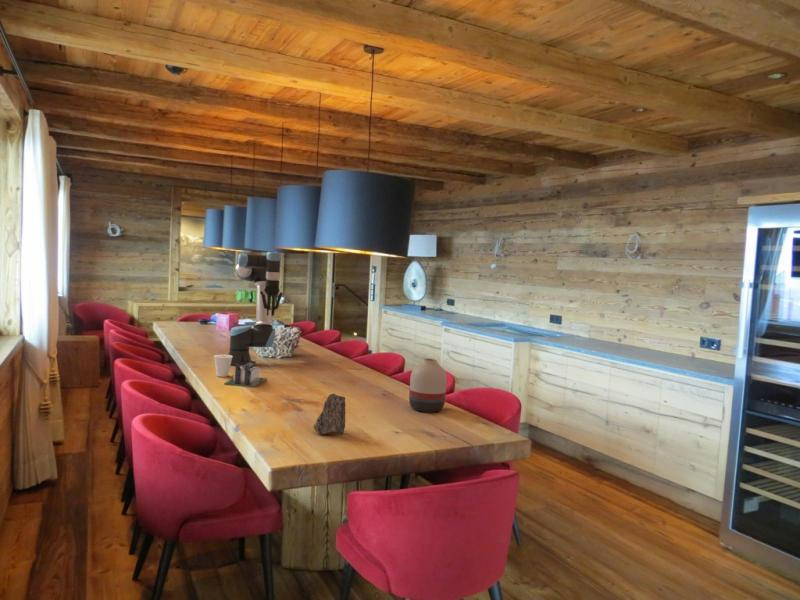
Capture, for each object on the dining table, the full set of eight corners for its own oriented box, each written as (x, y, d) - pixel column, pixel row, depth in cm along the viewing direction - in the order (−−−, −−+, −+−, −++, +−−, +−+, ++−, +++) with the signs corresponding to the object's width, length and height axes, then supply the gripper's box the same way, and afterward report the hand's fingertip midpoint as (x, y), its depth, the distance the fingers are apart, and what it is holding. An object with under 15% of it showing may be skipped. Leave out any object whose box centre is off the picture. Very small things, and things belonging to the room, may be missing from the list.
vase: (450, 409, 272) (453, 360, 270) (434, 416, 257) (437, 364, 256) (419, 403, 280) (422, 355, 279) (401, 409, 266) (405, 359, 264)
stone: (350, 436, 219) (353, 398, 218) (317, 438, 213) (319, 399, 212) (340, 426, 230) (342, 390, 230) (308, 428, 225) (310, 391, 224)
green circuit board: (238, 377, 312) (239, 358, 311) (266, 379, 310) (268, 361, 310) (224, 384, 292) (225, 364, 291) (254, 387, 291) (255, 367, 290)
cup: (228, 378, 307) (229, 358, 307) (210, 377, 308) (211, 356, 307) (234, 374, 317) (235, 355, 317) (216, 373, 317) (217, 354, 317)
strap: (248, 364, 308) (248, 362, 308) (254, 364, 308) (254, 362, 307) (238, 369, 293) (238, 367, 293) (245, 370, 293) (245, 368, 293)
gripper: (259, 279, 317) (256, 321, 319) (281, 280, 316) (279, 322, 318) (263, 278, 325) (261, 320, 326) (285, 280, 324) (283, 321, 325)
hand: (270, 321), depth 322 cm, fingers closed
